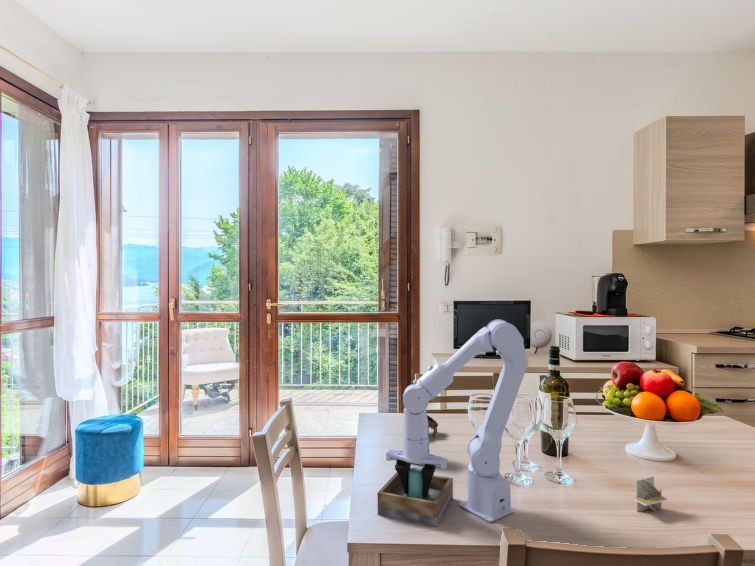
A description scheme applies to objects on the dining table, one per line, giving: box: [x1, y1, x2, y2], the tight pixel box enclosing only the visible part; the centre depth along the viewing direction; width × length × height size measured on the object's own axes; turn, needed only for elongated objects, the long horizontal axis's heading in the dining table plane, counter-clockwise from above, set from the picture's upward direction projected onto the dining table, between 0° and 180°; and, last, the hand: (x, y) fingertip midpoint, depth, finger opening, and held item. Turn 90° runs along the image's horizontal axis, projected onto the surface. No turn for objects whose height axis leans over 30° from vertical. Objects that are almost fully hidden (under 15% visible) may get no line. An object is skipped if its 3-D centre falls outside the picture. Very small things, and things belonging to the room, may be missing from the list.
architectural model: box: [633, 475, 668, 513], centre depth 106 cm, size 3×7×7 cm, turn 112°
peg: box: [408, 467, 425, 500], centre depth 110 cm, size 4×4×8 cm
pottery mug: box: [426, 414, 439, 438], centre depth 159 cm, size 12×10×8 cm
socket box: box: [376, 471, 454, 528], centre depth 110 cm, size 14×14×5 cm
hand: (416, 493), depth 110 cm, fingers closed on peg, 4 cm apart
